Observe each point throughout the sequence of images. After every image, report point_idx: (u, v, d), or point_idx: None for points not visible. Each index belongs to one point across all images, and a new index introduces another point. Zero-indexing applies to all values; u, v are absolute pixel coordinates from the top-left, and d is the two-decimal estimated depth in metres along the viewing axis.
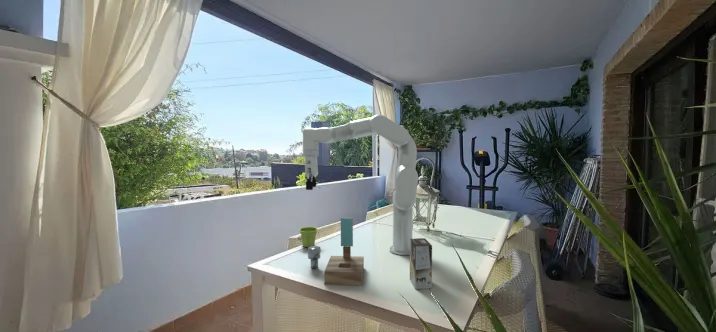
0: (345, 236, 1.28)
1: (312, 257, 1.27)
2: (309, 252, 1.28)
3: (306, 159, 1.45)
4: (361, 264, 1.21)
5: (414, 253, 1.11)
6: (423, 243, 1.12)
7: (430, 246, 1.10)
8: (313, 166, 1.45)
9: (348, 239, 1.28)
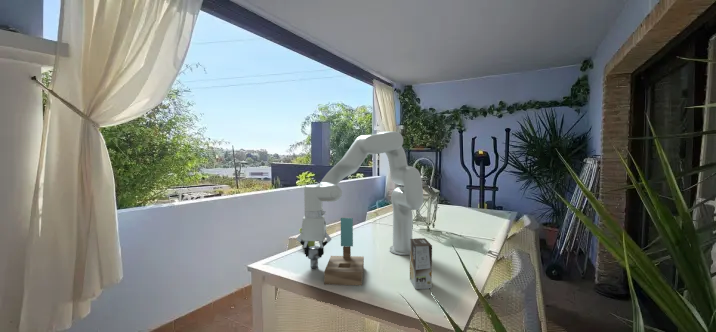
0: (345, 236, 1.28)
1: (312, 257, 1.27)
2: (309, 252, 1.28)
3: (323, 221, 1.27)
4: (361, 264, 1.21)
5: (414, 253, 1.11)
6: (423, 243, 1.12)
7: (430, 246, 1.10)
8: None
9: (348, 239, 1.28)
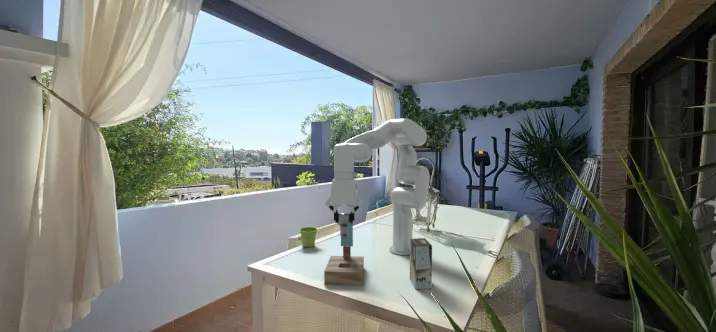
0: None
1: (343, 223, 1.16)
2: (339, 217, 1.17)
3: (355, 183, 1.16)
4: (361, 264, 1.21)
5: (414, 253, 1.11)
6: (423, 243, 1.12)
7: (430, 246, 1.10)
8: None
9: (348, 239, 1.28)
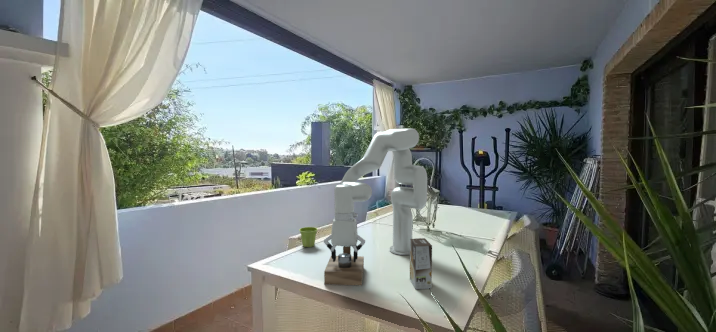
0: None
1: (343, 265, 1.17)
2: (340, 260, 1.18)
3: (355, 224, 1.17)
4: (361, 264, 1.21)
5: (414, 253, 1.11)
6: (423, 243, 1.12)
7: (430, 246, 1.10)
8: None
9: None
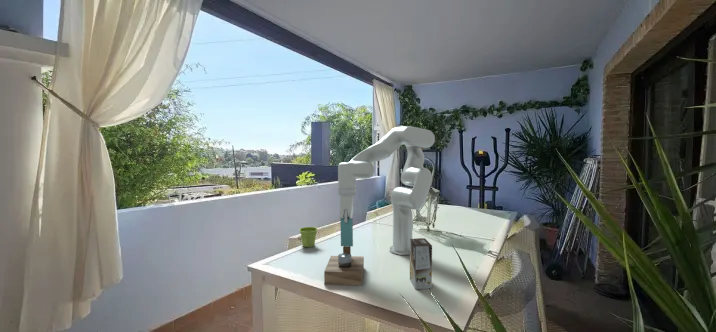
0: (345, 236, 1.28)
1: (343, 265, 1.17)
2: (340, 260, 1.18)
3: None
4: (361, 264, 1.21)
5: (414, 253, 1.11)
6: (423, 243, 1.12)
7: (430, 246, 1.10)
8: None
9: (347, 239, 1.28)
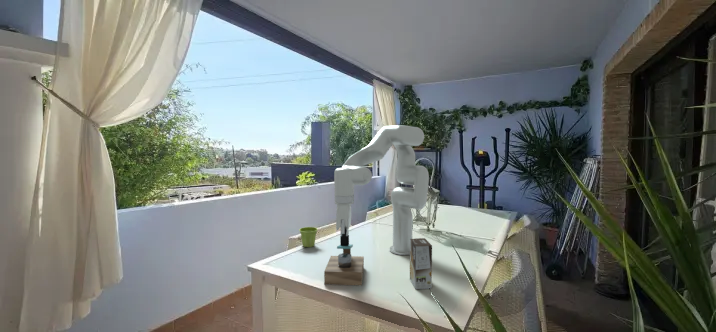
0: None
1: (343, 265, 1.17)
2: (340, 260, 1.18)
3: None
4: (361, 264, 1.21)
5: (414, 253, 1.11)
6: (423, 243, 1.12)
7: (430, 246, 1.10)
8: None
9: None
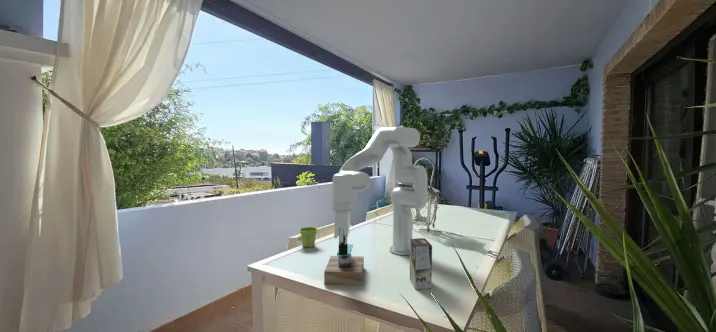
0: None
1: (343, 265, 1.17)
2: (340, 260, 1.18)
3: None
4: (361, 264, 1.21)
5: (414, 253, 1.11)
6: (423, 243, 1.12)
7: (430, 246, 1.10)
8: None
9: None
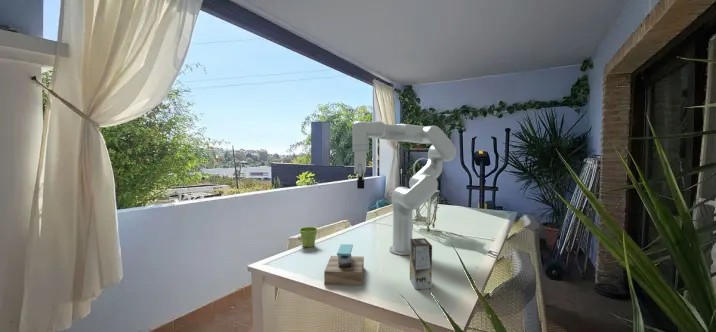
0: None
1: (343, 265, 1.17)
2: (340, 260, 1.18)
3: None
4: (361, 264, 1.21)
5: (414, 253, 1.11)
6: (423, 243, 1.12)
7: (430, 246, 1.10)
8: None
9: None
